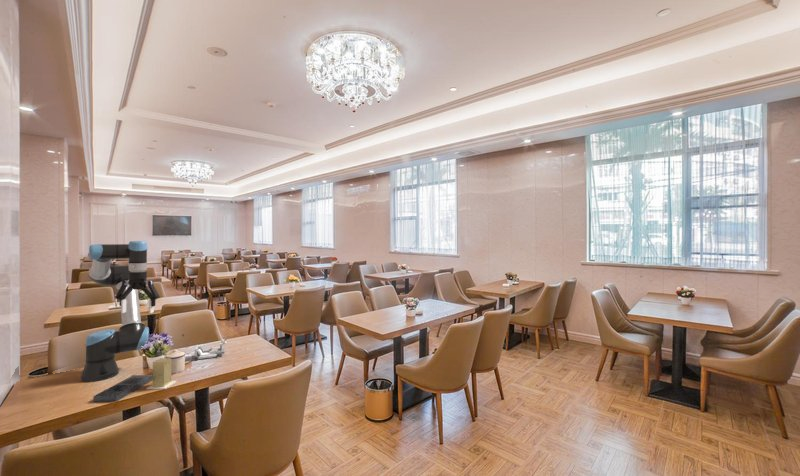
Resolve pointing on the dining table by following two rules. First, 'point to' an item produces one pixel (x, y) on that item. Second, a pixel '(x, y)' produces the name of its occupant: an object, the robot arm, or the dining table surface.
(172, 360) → the teacup with lid
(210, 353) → the silver irregular piece
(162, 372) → the brass block
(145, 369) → the dining table surface
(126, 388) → the dark grey tray
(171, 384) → the mat
